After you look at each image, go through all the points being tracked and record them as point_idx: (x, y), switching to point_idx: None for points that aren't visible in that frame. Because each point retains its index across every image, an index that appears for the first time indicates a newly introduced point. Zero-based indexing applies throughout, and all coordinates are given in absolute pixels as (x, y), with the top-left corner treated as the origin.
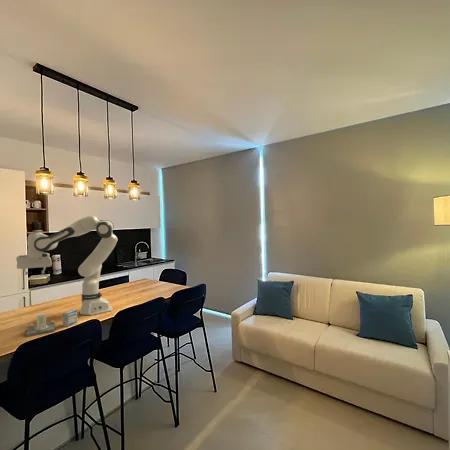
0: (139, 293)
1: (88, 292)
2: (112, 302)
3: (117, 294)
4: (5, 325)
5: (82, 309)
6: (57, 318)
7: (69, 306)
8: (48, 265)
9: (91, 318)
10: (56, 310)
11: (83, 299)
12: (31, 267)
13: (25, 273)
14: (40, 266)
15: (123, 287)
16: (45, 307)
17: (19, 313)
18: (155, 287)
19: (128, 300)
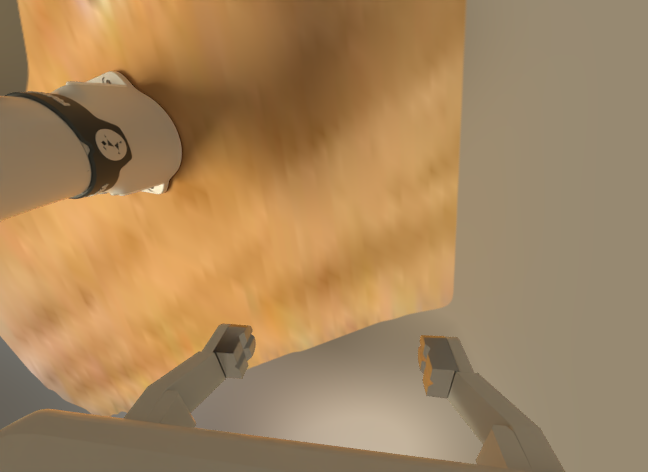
0: (47, 292)
1: (6, 98)
2: (101, 231)
3: (121, 317)
4: (457, 114)
5: (147, 116)
6: (256, 106)
7: (246, 260)
8: (27, 444)
9: (97, 9)
10: (282, 233)
11: (94, 116)
12: (379, 464)
13: (459, 351)
14: (183, 451)
15: (131, 376)
16: (326, 291)
17: (406, 265)
18: (23, 331)
19: (48, 226)
